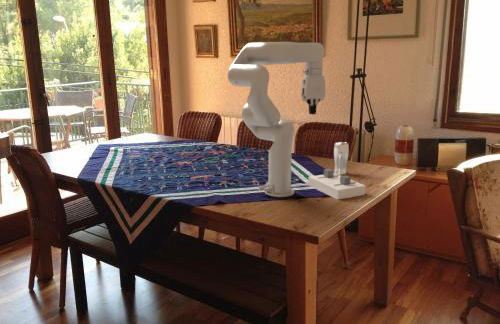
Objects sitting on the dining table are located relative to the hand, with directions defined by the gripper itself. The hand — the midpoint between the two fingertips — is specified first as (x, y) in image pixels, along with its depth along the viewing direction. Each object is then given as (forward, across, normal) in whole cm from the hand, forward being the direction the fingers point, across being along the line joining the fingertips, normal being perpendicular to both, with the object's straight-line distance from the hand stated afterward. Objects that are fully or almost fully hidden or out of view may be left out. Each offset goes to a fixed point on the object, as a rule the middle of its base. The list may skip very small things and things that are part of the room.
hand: (312, 113), depth 205 cm
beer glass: (+31, +20, +4) cm, 37 cm away
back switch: (+27, +3, -10) cm, 29 cm away
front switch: (+27, +3, -22) cm, 35 cm away
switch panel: (+31, +2, -17) cm, 35 cm away
